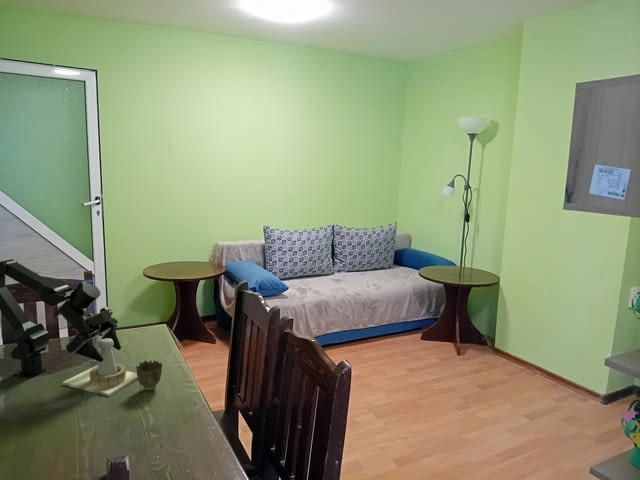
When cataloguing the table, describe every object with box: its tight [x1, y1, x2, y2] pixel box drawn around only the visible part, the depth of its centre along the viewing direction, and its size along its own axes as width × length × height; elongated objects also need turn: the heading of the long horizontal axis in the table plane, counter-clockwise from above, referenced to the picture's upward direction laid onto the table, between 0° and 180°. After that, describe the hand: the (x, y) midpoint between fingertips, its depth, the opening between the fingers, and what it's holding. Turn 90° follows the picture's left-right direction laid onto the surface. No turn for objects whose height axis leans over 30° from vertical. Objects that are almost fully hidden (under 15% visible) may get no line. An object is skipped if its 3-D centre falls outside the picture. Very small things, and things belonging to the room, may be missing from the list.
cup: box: [135, 360, 163, 393], centre depth 141 cm, size 8×7×8 cm
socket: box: [62, 363, 138, 397], centre depth 145 cm, size 18×14×4 cm
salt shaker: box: [97, 338, 117, 376], centre depth 144 cm, size 6×6×13 cm
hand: (111, 354), depth 143 cm, fingers open, 9 cm apart
